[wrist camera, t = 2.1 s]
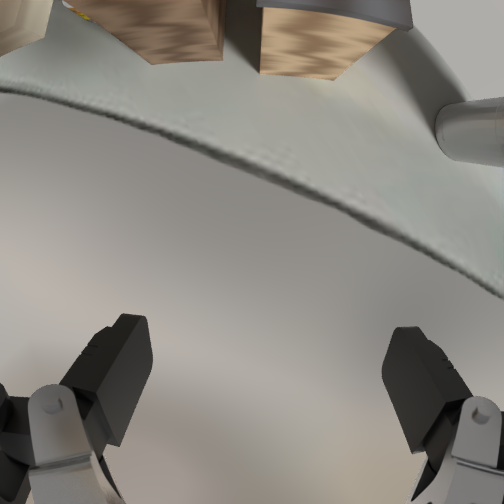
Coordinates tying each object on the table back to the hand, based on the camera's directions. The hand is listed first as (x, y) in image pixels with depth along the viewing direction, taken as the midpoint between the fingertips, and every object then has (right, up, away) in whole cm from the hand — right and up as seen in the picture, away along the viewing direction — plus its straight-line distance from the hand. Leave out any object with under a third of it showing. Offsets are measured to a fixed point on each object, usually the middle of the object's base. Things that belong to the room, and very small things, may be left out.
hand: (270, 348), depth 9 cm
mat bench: (+6, +34, +24) cm, 42 cm away
